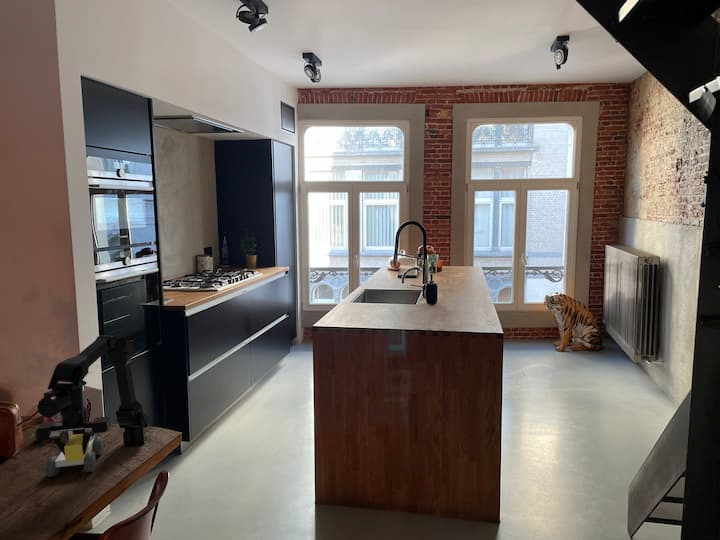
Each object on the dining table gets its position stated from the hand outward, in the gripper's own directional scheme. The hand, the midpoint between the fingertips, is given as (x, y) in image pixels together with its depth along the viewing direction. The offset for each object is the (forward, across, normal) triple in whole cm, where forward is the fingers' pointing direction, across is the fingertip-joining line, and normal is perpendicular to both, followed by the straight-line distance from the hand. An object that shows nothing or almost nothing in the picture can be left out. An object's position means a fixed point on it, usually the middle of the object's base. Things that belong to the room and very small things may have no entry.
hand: (75, 455), depth 151 cm
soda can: (+11, +18, -46) cm, 51 cm away
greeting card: (+11, +8, -50) cm, 52 cm away
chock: (+1, 0, -2) cm, 2 cm away
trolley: (+11, +4, -18) cm, 21 cm away
